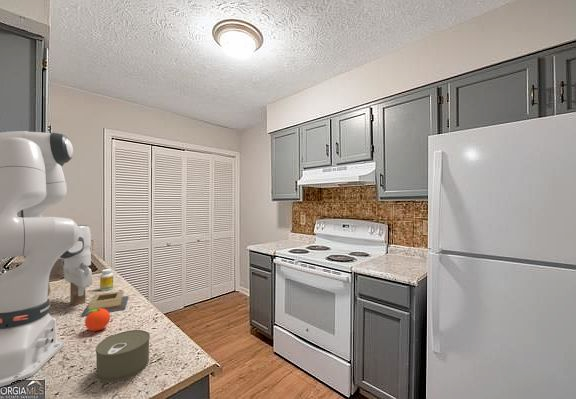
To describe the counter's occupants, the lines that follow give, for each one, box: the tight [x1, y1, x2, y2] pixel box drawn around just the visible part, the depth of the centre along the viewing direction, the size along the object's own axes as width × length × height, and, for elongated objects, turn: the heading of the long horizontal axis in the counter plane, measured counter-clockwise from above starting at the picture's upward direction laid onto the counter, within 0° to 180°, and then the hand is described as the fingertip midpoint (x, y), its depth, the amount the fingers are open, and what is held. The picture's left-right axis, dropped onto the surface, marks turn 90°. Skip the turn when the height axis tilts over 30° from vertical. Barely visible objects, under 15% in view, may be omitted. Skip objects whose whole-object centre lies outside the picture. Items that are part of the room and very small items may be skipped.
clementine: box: [84, 308, 111, 332], centre depth 87 cm, size 8×7×7 cm
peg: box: [69, 282, 86, 306], centre depth 110 cm, size 4×4×9 cm
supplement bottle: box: [99, 268, 114, 292], centre depth 128 cm, size 5×5×10 cm
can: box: [95, 329, 151, 383], centre depth 67 cm, size 12×12×7 cm
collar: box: [81, 290, 130, 317], centre depth 107 cm, size 14×14×4 cm
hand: (77, 294), depth 110 cm, fingers closed on peg, 4 cm apart
